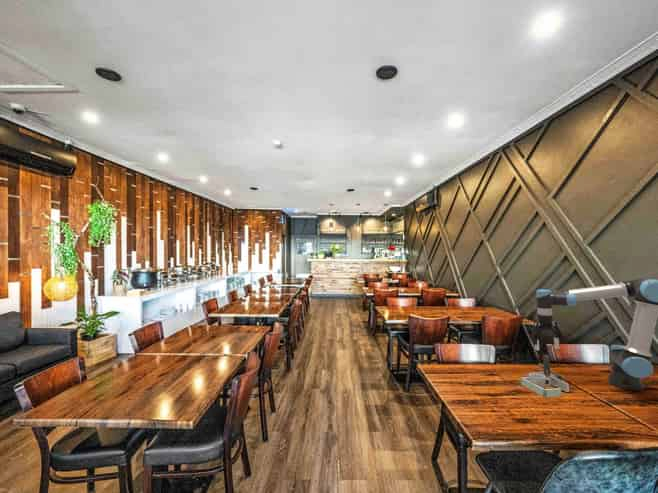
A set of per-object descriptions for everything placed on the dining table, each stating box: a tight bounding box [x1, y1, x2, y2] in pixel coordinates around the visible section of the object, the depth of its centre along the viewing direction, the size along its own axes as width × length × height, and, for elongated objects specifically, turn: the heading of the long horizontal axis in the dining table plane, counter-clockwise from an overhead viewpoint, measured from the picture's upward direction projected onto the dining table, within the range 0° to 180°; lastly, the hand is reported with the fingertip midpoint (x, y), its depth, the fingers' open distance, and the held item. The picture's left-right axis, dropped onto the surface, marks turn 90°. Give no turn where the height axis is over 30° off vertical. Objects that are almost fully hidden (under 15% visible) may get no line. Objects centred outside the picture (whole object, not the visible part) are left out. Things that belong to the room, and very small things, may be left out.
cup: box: [528, 372, 551, 389], centre depth 171 cm, size 11×8×8 cm
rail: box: [522, 372, 564, 383], centre depth 183 cm, size 22×5×3 cm, turn 97°
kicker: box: [537, 354, 570, 393], centre depth 177 cm, size 6×20×15 cm, turn 7°
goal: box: [519, 376, 562, 399], centre depth 170 cm, size 10×17×4 cm, turn 7°
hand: (547, 349), depth 183 cm, fingers open, 13 cm apart
